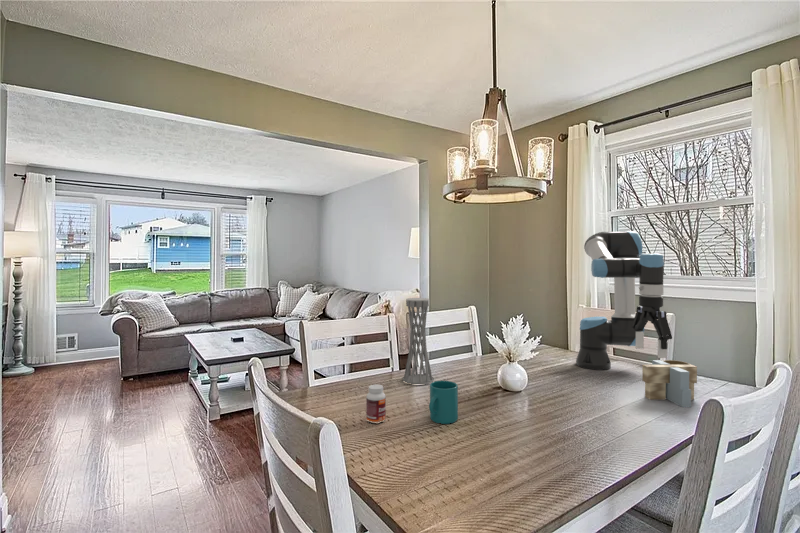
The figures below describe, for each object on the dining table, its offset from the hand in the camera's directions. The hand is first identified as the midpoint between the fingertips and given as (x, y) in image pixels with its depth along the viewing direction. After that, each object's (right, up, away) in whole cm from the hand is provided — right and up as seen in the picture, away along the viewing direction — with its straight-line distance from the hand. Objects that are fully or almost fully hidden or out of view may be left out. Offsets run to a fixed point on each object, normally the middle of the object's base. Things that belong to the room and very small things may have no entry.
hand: (650, 353), depth 148 cm
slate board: (+7, -17, 0) cm, 18 cm away
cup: (-79, -18, -19) cm, 83 cm away
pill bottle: (-100, -18, -19) cm, 104 cm away
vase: (-85, -17, +23) cm, 89 cm away
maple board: (+7, -17, 0) cm, 18 cm away
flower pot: (+21, -16, +17) cm, 32 cm away
